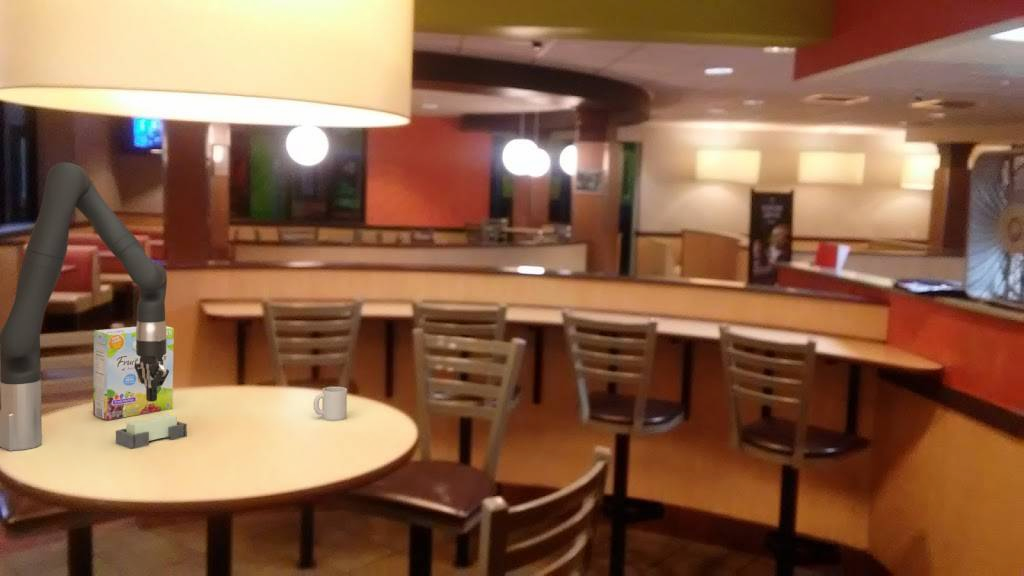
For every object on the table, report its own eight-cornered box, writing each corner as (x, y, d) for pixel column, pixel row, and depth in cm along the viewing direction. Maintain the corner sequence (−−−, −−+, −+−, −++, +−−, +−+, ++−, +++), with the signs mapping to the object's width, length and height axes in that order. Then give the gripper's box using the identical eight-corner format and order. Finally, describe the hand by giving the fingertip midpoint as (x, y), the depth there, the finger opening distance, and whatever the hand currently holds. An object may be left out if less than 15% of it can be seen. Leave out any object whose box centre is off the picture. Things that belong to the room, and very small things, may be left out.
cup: (348, 420, 275) (349, 391, 274) (315, 422, 271) (316, 393, 270) (343, 414, 282) (343, 386, 281) (310, 416, 278) (311, 387, 277)
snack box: (107, 422, 263) (106, 334, 260) (91, 416, 268) (90, 330, 265) (175, 409, 280) (174, 326, 277) (159, 404, 286) (158, 323, 283)
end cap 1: (131, 449, 238) (131, 436, 238) (115, 443, 243) (115, 430, 242) (148, 445, 242) (148, 432, 242) (133, 439, 247) (133, 427, 246)
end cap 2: (170, 431, 256) (170, 419, 256) (186, 436, 252) (186, 424, 251) (154, 434, 252) (154, 422, 252) (170, 440, 248) (170, 427, 247)
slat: (135, 443, 241) (134, 425, 240) (126, 440, 243) (126, 422, 243) (176, 434, 251) (176, 416, 251) (168, 431, 253) (168, 414, 253)
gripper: (124, 335, 245) (125, 399, 247) (152, 342, 237) (153, 407, 239) (149, 332, 251) (150, 394, 253) (178, 339, 243) (178, 402, 245)
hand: (151, 400), depth 246 cm, fingers closed
